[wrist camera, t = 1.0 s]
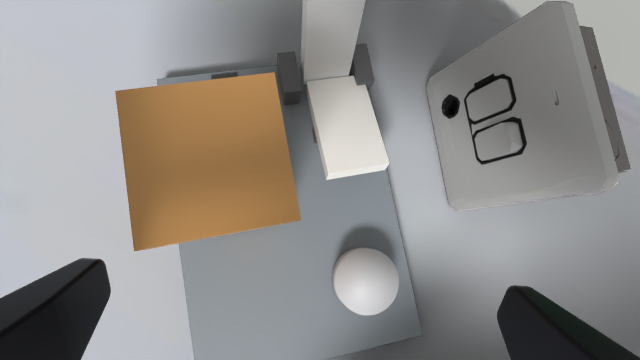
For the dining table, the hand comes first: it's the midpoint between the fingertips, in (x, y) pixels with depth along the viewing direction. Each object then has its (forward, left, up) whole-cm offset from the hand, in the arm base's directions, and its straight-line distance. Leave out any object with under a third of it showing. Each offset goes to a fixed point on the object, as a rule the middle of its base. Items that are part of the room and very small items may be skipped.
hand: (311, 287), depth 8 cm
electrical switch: (+5, -14, -14) cm, 20 cm away
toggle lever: (+10, -4, -12) cm, 16 cm away
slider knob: (+4, +2, -12) cm, 13 cm away
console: (+3, -1, -14) cm, 14 cm away
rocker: (+7, -5, -11) cm, 14 cm away
